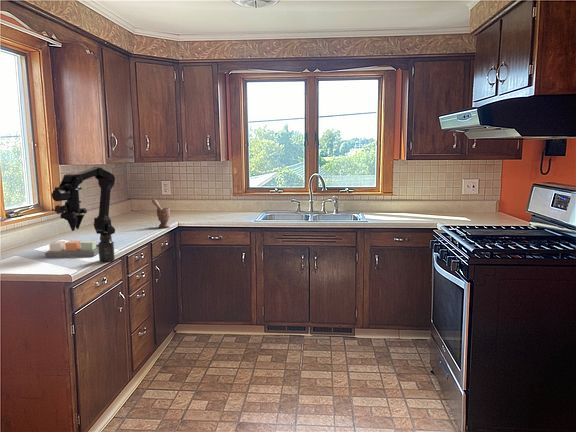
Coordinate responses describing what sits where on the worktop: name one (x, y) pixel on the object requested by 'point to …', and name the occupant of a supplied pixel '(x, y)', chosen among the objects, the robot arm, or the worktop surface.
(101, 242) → the supplement bottle
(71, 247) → the terracotta button
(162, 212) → the mortar and pestle
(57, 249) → the cream button
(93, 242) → the sage button
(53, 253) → the console
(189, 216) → the worktop surface
